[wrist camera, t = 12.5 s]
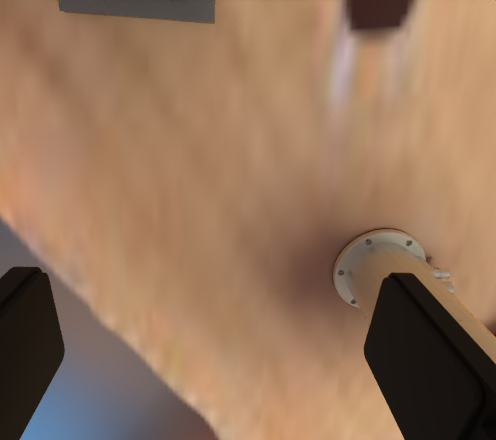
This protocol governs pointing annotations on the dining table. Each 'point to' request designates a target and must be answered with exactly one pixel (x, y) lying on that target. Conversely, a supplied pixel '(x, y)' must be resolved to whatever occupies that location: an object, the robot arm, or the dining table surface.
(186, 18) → the flange socket
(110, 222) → the dining table surface
